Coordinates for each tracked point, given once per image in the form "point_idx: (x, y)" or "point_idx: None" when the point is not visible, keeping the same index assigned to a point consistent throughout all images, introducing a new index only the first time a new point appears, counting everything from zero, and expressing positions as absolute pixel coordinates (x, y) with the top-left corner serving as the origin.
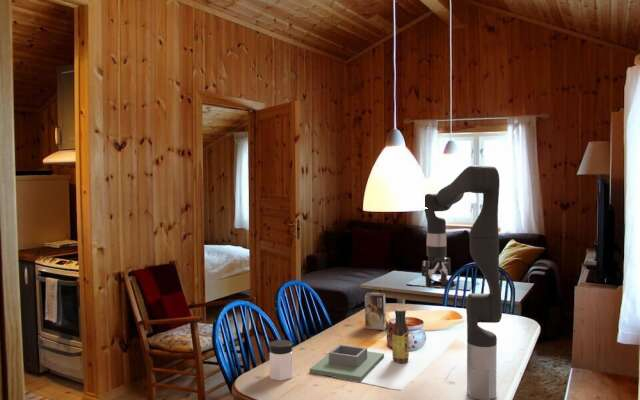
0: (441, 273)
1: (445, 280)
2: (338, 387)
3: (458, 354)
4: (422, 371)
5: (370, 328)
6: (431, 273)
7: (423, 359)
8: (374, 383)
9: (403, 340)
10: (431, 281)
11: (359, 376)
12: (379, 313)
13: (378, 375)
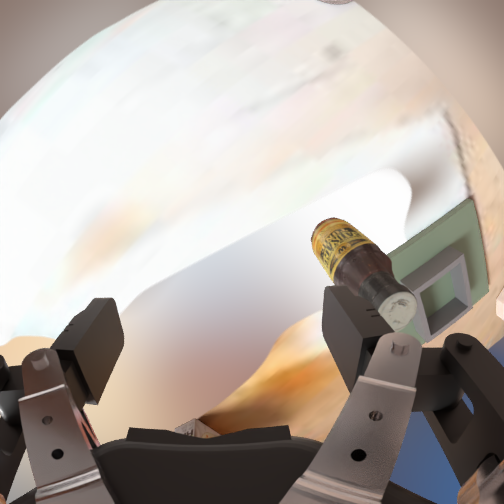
0: (85, 413)
1: (93, 315)
2: (498, 204)
3: (149, 180)
4: (341, 144)
5: (218, 434)
6: (400, 376)
7: (270, 208)
8: (459, 171)
9: (365, 236)
10: (350, 313)
11: (473, 204)
12: None
13: (431, 198)
